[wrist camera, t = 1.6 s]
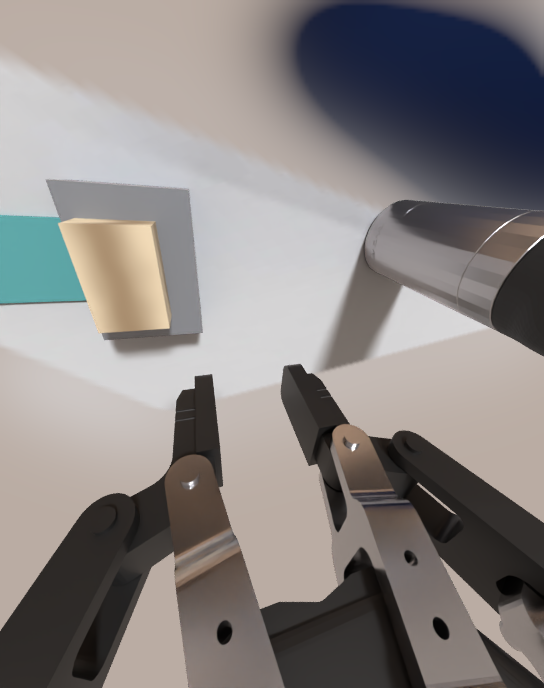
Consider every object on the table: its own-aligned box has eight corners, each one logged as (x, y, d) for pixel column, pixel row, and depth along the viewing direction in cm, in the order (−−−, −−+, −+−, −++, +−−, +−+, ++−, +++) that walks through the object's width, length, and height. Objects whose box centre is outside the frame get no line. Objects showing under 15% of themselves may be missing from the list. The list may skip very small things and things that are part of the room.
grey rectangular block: (188, 188, 24) (188, 190, 20) (201, 317, 31) (202, 332, 28) (67, 179, 21) (45, 179, 18) (113, 322, 29) (104, 340, 25)
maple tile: (155, 221, 21) (150, 226, 19) (171, 314, 26) (169, 328, 23) (74, 218, 19) (57, 223, 17) (107, 318, 24) (98, 333, 22)
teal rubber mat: (67, 217, 22) (66, 218, 22) (96, 299, 27) (95, 299, 26) (-77, 212, 20) (-81, 212, 19) (-20, 303, 24) (-22, 304, 24)
